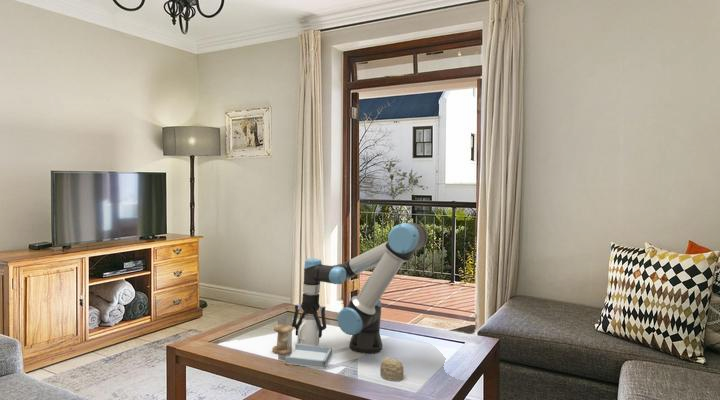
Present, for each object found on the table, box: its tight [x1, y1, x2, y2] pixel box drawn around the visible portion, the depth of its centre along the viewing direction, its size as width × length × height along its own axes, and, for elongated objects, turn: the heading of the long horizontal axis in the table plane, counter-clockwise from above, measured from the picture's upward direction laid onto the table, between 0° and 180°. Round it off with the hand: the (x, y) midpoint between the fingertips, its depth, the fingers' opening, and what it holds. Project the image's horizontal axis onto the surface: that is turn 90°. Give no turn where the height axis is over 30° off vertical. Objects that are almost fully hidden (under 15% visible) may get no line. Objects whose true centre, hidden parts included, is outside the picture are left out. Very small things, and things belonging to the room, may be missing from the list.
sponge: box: [379, 356, 405, 382], centre depth 174 cm, size 9×10×10 cm
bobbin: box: [271, 324, 294, 355], centre depth 193 cm, size 8×8×10 cm
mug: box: [299, 315, 318, 346], centre depth 202 cm, size 12×8×12 cm
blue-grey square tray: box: [284, 343, 333, 370], centre depth 186 cm, size 16×17×3 cm
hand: (308, 343), depth 202 cm, fingers closed on mug, 8 cm apart
